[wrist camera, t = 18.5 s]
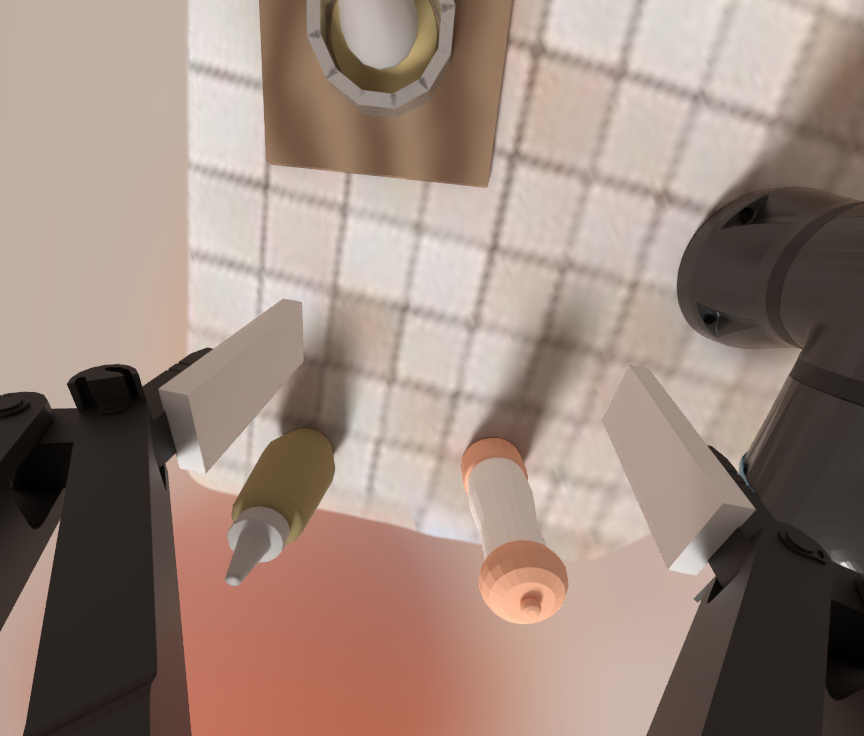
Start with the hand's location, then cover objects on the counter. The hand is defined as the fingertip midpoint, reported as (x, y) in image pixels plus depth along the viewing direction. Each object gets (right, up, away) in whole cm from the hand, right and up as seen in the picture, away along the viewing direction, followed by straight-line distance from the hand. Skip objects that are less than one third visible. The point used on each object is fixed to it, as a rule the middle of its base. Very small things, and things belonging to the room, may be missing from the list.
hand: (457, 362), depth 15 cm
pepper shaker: (+6, -12, +30) cm, 33 cm away
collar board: (-5, +27, +16) cm, 32 cm away
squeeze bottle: (-16, -10, +29) cm, 35 cm away
